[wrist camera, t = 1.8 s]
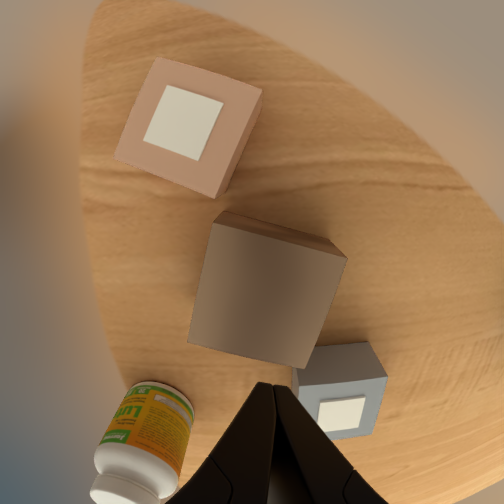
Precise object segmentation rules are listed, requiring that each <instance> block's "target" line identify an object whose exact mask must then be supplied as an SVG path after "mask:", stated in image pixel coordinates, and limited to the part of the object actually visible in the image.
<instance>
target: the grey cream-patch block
mask: <svg viewBox="0 0 504 504" xmlns="http://www.w3.org/2000/svg"><path fill="white" fill-rule="evenodd" d="M387 379H388V375H387V374H386V372H385V370H384V368H383V366H382V365H381V363H380V361H379V359H378V358H377V356H376V354H375V352H374V351H373V349H372V347H371V345H370V344H369V342H361V343H351V344H340V345H328V346H315V347H314V349H313V351H312V353H311V356H310V358H309V360H308V363H307V365H306V367H305V369H301V368H295V367H292V392H293V394H294V395H295V396H296V397H297V399H298V400H299V401H300V403H301V404H302V405H303V406H304V408H305V409H306V410H307V411H308V413H309V414H310V415H311V416H312V418H313V419H314V420H315V421H316V423H317V424H318V425H319V426H320V428H321V429H322V430H323V431H324V433H325V434H326V435H327V436H328V437H329V439H330V440H338V439H345V438H352V437H358V436H365V435H370V434H372V432H373V429H374V426H375V422H376V419H377V416H378V412H379V409H380V405H381V402H382V398H383V394H384V391H385V387H386V383H387Z"/></svg>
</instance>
